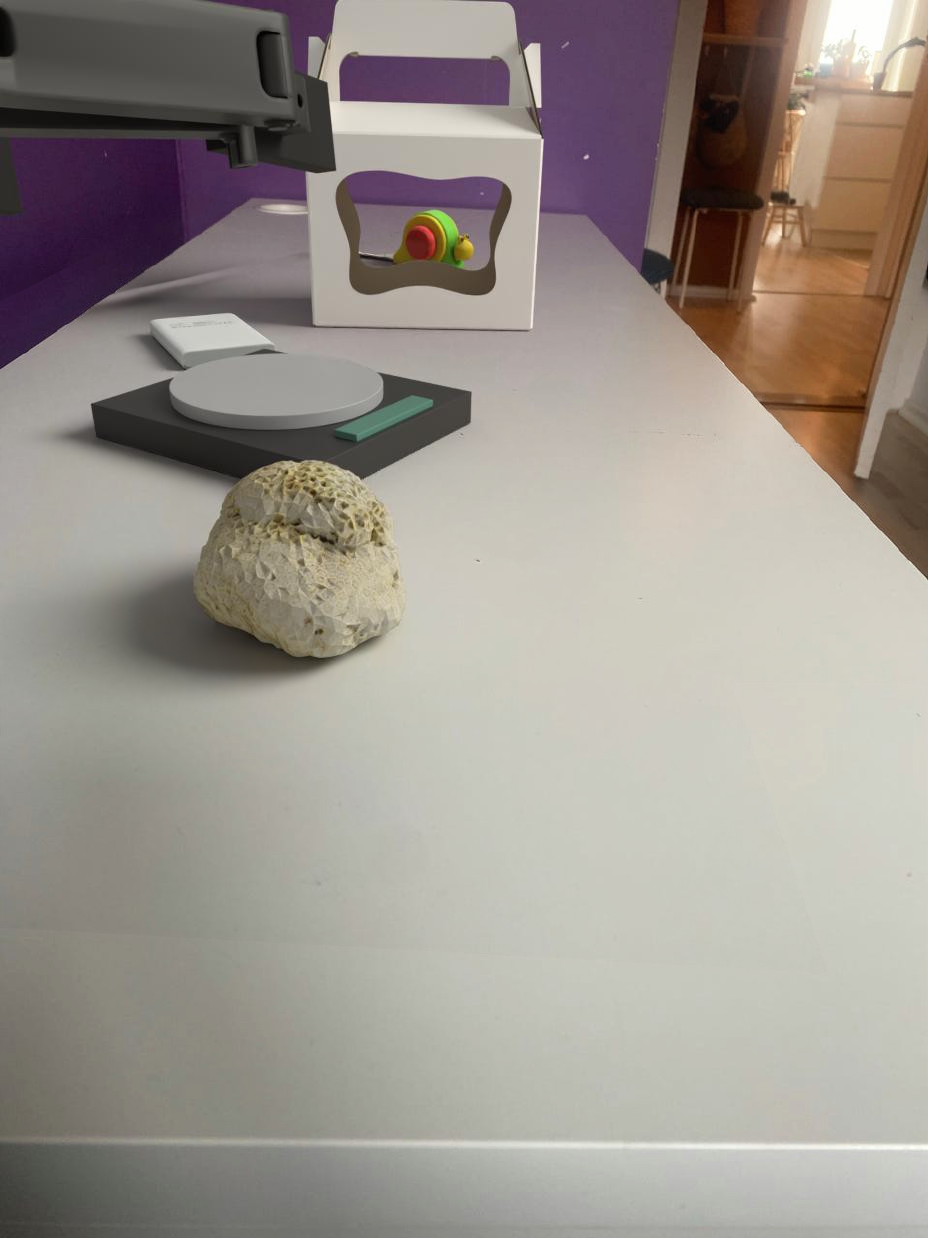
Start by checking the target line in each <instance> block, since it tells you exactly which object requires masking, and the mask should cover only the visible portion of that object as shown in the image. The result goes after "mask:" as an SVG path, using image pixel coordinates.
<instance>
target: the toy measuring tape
mask: <svg viewBox="0 0 928 1238" xmlns="http://www.w3.org/2000/svg"><path fill="white" fill-rule="evenodd" d="M402 231H403V232H402V239H401V243H400V246H399V248H398V249H397V250H396V252H395V253H384V254H373V253H368V252H361V251H360V250H359V255H363V256H368V257H373V258H376V259H386V260H392V262H393V263H394V265H397V264H401V263H405V262H410V261H416V260H429V261H438V262H443V263H447V264H450V265H453V266H455V267H458V268H461V269H464V265H465V264H464V263H465V262H466V261H469V260H470V259H471V258H472V257H473V255H474V253H475V249H474V248H475V247H474V246H473V245H474V244H472V243H471V242H470V241H469V240H470V236H469V234H467V233H464V234H463V235H460V234H459V229H458V227H457V225H456V223H455V221H454V220H453V219H452V218H451V217H450V216H449V215H448V214H446V213H445V212H444V211H441V210H438V209H430V210H429V209H428V210H425V211H421V212H418V213H416V214H414V215H413V216H412V217H410V219H408V221H407V222H406V223H405V226H404V228H403V230H402Z"/></svg>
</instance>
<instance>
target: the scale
mask: <svg viewBox="0 0 928 1238" xmlns="http://www.w3.org/2000/svg"><path fill="white" fill-rule="evenodd" d="M472 395H473V394H472V391H471V390H467V389H461V388H456V387H451V386H447V385H441V384H437V383H432V382H427V381H422V380H418V379H414V378H413V379H412V378H408V377H404V376H403V377H402V376H399V375H392V374H389V373H383V372H380V371H379V372H378V371H376V370H374V369H373V368H371V367H369V366H367V365H364V364H362V363H359V362H356V361H352V360H348V359H344V358H340V357H334V356H328V355H320V354H309V353H288V352H283V351H278V350H275V351H274V350H269V349H261V350H258V351H255V352H252V353H249V354H246V355H243V356H238V357H231V358H225V359H220V360H215V361H211V362H207V363H203V364H200V365H197V366H194V367H192V368H189V369H185V370H182V371H181V372H180V373H178V374H176V376H174V377H170V378H167V379H164V380H161V381H158V382H155V383H152V384H149V385H146V386H142V387H139V388H136V389H133V390H130V391H126V392H123V393H120V394H116V395H114V396H111V397H108V398H104V399H101V400H98V401H94V402H92V403H90V408H91V415H92V421H93V427H94V432H95V433H94V434H95V437H97V438H100V439H103V440H106V441H110V442H114V443H117V444H120V445H124V446H127V447H131V448H135V449H138V450H140V451H141V450H142V451H145V452H149V453H153V454H154V455H155V454H156V455H159V456H163V457H165V458H170V459H172V460H173V459H174V460H177V461H181V462H184V463H187V464H191V465H194V466H198V467H201V468H205V469H209V470H210V471H211V470H212V471H216V472H219V473H222V474H225V475H230V476H233V477H235V478H240V479H242V478H244V477H246V476H248V475H249V474H250V473H252V472H254V471H256V470H258V469H260V468H262V467H265V466H268V465H271V464H274V463H276V462H281V461H293V462H296V463H300V462H302V461H306V460H316V461H322V462H327V463H330V464H333V465H337V466H338V467H339V468H341V469H344V470H348V471H350V472H352V473H353V474H354V475H355V476H358V477H359V478H360V480H361V481H362V480H363V479H365V478H367V477H369V476H371V475H373V474H375V473H376V472H379V471H382V469H384V468H386V467H389V466H390V465H392V464H395V463H396V462H398V461H400V460H402V459H403V458H406V457H407V456H410V455H411V454H414V453H415V452H417V451H419V450H421V449H423V448H425V447H428V445H431V444H433V443H435V442H436V441H438V440H441V439H442V438H444V437H446V436H448V435H450V434H452V433H453V432H456V431H458V430H459V429H461V428H463V427H465V426H467V425H469V424H471V422H472V397H473V396H472Z"/></svg>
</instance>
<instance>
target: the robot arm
mask: <svg viewBox="0 0 928 1238" xmlns="http://www.w3.org/2000/svg"><path fill="white" fill-rule="evenodd" d="M10 138H35V139H36V138H37V139H38V138H40V139H41V138H42V139H43V138H45V139H46V138H47V139H48V138H49V139H52V138H53V139H117V140H118V139H124V140H126V139H129V140H132V139H133V140H134V139H135V140H201V141H202V140H204V141H205V147H206V148H205V149H206V151H207V152H210V153H214V154H220V155H223V156H227V159H228V166H229V170H240V169H241V170H242V169H248V168H249V169H250V168H254V167H258V166H259V163H263V164H269V165H272V166H276V167H277V166H279V167H281V168H288V169H292V170H297V171H303V172H306V171H307V172H312V173H325V172H332V171H336V162H335V152H334V142H333V132H332V123H331V113H330V103H329V93H328V83H327V82H325V81H323V80H320V79H317V78H315V77H312V76H310V75H308V73H307V74H306V73H304V72H302V71H299V70H297V69H295V63H294V55H293V46H292V38H291V29H290V19H289V16H288V15H287V14H286V13H284V12H280V11H275V10H274V9H271V8H254V7H250V6H249V7H248V6H242V5H237V4H229V3H225V2H224V3H223V2H217V1H211V0H0V216H7V217H10V216H16V215H24V209H23V204H22V197H21V193H20V188H19V183H18V177H17V171H16V167H15V161H14V156H13V150H12V145H11V139H10Z"/></svg>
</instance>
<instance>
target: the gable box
mask: <svg viewBox="0 0 928 1238" xmlns="http://www.w3.org/2000/svg"><path fill="white" fill-rule="evenodd" d="M332 23H333V24H332V31H331V32H329V33H328V34H327V37H326V41H325V42H324V41H323V40H322V38H320V36H308V50H307V51H308V52H307V53H308V54H307V58H308V59H307V75H310V76H312V77H315V78H317V79H320V80H323V81H325V82H327V83H328V93H329V103H330V113H331V123H332V132H333V142H334V152H335V162H336V171H332V172H325V173H312V172H307V171H305V189H306V190H305V191H306V208H307V209H306V210H307V230H308V231H307V233H308V250H309V251H308V252H309V253H308V254H309V270H310V271H309V272H310V290H311V292H310V293H311V310H312V325H313V326H314V327H317V328H318V327H320V328H321V327H323V328H324V327H325V328H326V327H327V328H373V329H377V328H378V329H422V330H423V329H424V330H427V329H428V330H429V329H430V330H478V331H481V330H482V331H484V330H485V331H531V330H532V329H533V327H534V309H535V292H536V276H537V275H536V273H537V259H538V257H537V256H538V241H539V223H540V209H541V208H540V205H541V190H542V174H543V173H542V172H543V157H544V156H543V155H544V142H545V138H544V133H543V129H542V125H541V121H540V117H539V112H538V108H539V109H541V108H542V71H541V69H542V68H541V66H542V65H541V64H542V63H541V43H540V42H539V43H537V42H530V43H529V44H528V45H527V46H526V47H525V49H524V46H523V43H522V39H521V38H518V31H517V22H516V14H515V10H514V8H513V6H512V5H511V4H510V3H508V2H506V1H487V0H485V1H484V0H337V1H336V4H335V8H334V14H333V22H332ZM347 56H349V57H352V58H359V56H364V57H365V56H369V57H400V58H402V57H403V58H404V57H405V58H406V57H407V58H437V59H439V58H440V59H468V60H470V59H472V60H490V61H491V62H499V61H501V60H502V62H504V65H506V68H507V69H508V74H509V83H508V84H509V85H508V103H507V104H508V105H504V104H503V105H499V104H498V105H497V104H495V105H494V104H467V103H466V104H463V103H462V104H461V103H429V102H428V103H426V102H425V103H424V102H394V101H393V102H390V101H388V102H387V101H357V100H356V101H354V100H351V101H350V100H341V76H340V75H341V74H340V73H341V72H340V70H341V65H342V63H343V61H344V60H345V58H346V57H347ZM369 171H370V172H371V171H372V172H373V171H383V172H390V173H391V172H392V173H398V174H403V175H408V176H412V177H417V178H423V179H427V180H436V181H437V180H440V181H441V180H443V181H444V180H454V179H461V178H471V177H472V178H473V177H485V178H491V179H495V180H498V181H500V182H502V188H501V193H500V196H499V197H500V198H499V200H498V203H497V206H496V208H495V210H494V213H493V216H492V219H491V222H490V226H489V234H488V235H489V237H488V239H489V259H488V262H487V263H486V265H485V266H483V267H482V268H480V269H475V270H472V269H471V270H470V269H464V268H458V267H455V266H453V265H450V264H447V263H443V262H438V261H429V260H416V261H410V262H405V263H401V264H392V265H387V266H371V265H368V264H367V263H365V262H364V261H363V260H362V258H361V255H360V254H359V251H360V240H361V223H360V217H359V214H358V211H357V208H356V206H355V204H354V201H353V198H352V196H351V194H350V193H351V192H350V190H349V188H348V185H347V177H348V176H351V175H352V174H355V173H360V172H369Z"/></svg>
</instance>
